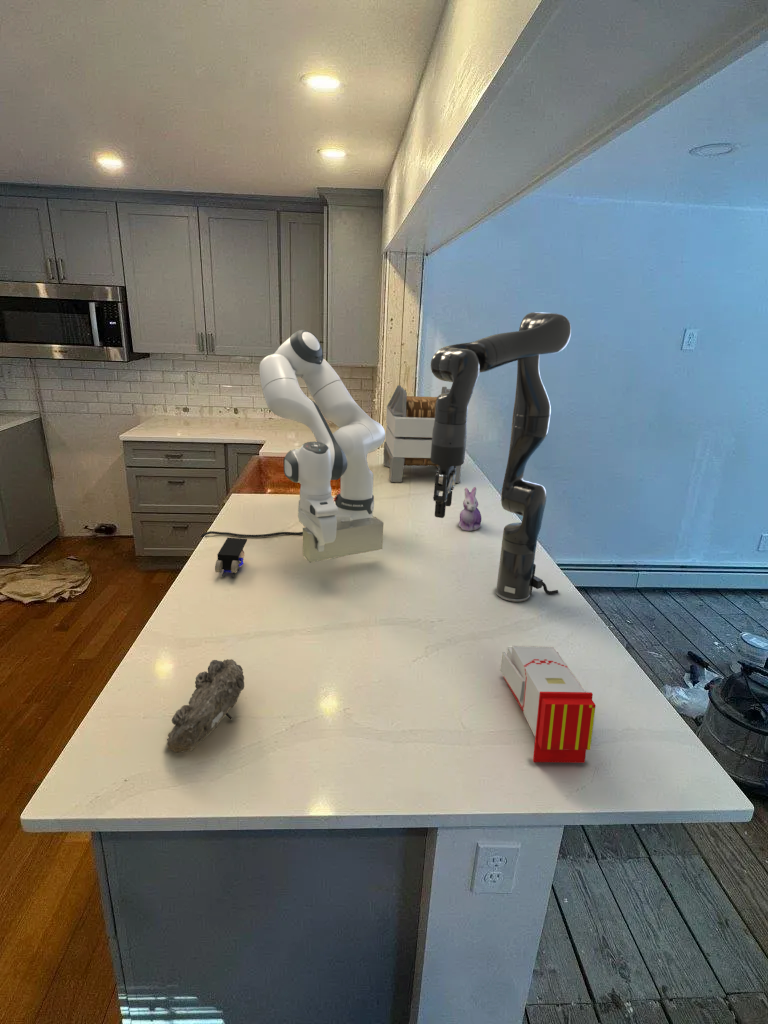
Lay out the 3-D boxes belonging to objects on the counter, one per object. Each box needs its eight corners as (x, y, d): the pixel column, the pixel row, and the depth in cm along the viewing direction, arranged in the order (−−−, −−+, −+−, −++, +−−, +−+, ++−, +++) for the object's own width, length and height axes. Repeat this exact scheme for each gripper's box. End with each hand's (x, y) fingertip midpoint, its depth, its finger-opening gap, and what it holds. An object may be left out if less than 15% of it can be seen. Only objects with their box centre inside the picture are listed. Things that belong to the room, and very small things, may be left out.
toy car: (238, 584, 162) (249, 557, 175) (236, 562, 158) (247, 536, 172) (215, 584, 161) (227, 556, 175) (212, 561, 158) (225, 535, 171)
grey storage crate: (382, 463, 289) (386, 382, 275) (445, 464, 293) (451, 384, 279) (390, 482, 257) (394, 392, 243) (460, 483, 261) (468, 394, 247)
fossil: (192, 660, 117) (244, 628, 112) (224, 691, 120) (276, 661, 115) (142, 746, 98) (202, 712, 93) (182, 779, 101) (242, 748, 96)
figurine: (467, 533, 203) (471, 493, 198) (451, 523, 211) (454, 485, 206) (488, 529, 207) (492, 490, 202) (471, 520, 215) (475, 482, 210)
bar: (309, 562, 161) (309, 534, 158) (302, 555, 165) (302, 527, 162) (382, 549, 172) (383, 522, 169) (374, 542, 176) (375, 516, 173)
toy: (549, 628, 125) (605, 700, 96) (544, 683, 128) (596, 770, 99) (495, 627, 125) (534, 699, 95) (491, 683, 128) (527, 769, 98)
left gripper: (292, 491, 166) (293, 535, 170) (318, 513, 149) (318, 561, 153) (312, 489, 169) (312, 532, 173) (340, 510, 152) (340, 557, 156)
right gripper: (460, 450, 117) (454, 523, 123) (470, 437, 130) (463, 503, 136) (425, 447, 119) (420, 519, 125) (438, 434, 132) (433, 500, 138)
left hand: (315, 546), depth 163 cm, fingers closed on bar, 5 cm apart
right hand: (443, 511), depth 130 cm, fingers open, 8 cm apart
